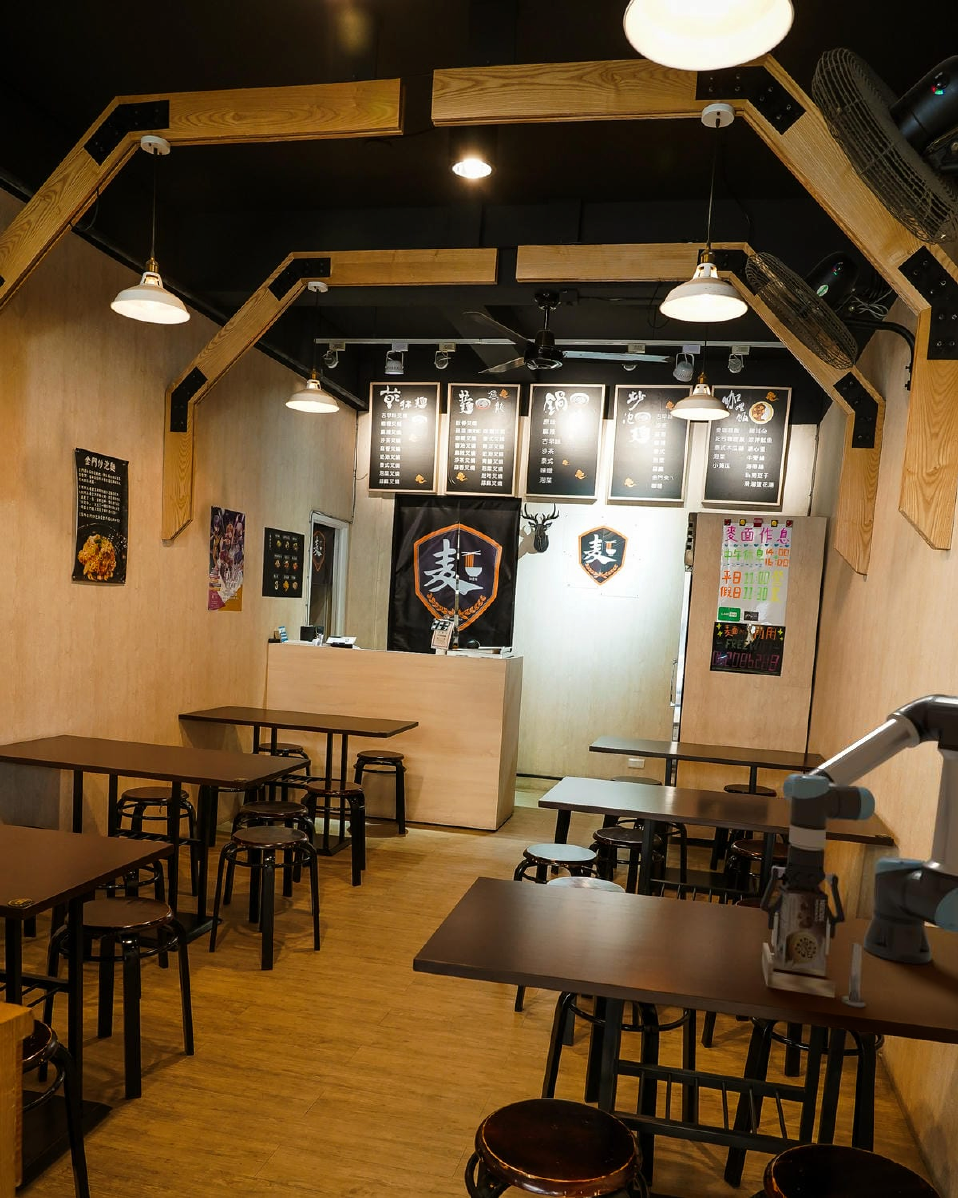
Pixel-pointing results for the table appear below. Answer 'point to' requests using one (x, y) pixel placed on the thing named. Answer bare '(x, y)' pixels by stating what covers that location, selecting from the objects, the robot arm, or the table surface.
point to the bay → (794, 977)
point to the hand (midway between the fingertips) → (799, 948)
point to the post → (855, 978)
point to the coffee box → (801, 929)
